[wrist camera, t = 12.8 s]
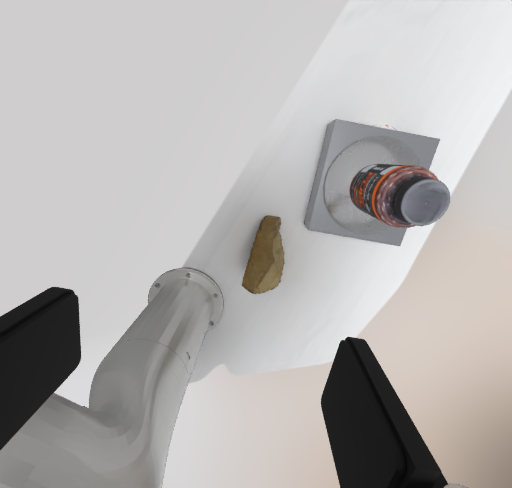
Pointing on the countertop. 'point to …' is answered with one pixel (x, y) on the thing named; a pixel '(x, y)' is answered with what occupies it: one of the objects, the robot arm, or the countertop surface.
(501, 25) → the countertop surface
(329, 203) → the scale pan
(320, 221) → the scale base
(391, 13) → the countertop surface
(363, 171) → the supplement bottle
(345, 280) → the countertop surface
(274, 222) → the rock
